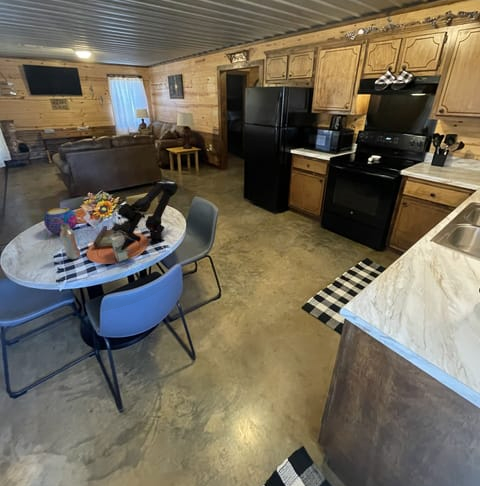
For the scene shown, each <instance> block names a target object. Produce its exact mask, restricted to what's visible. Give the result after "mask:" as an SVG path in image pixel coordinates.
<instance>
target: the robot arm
mask: <svg viewBox="0 0 480 486" xmlns="http://www.w3.org/2000/svg"><path fill="white" fill-rule="evenodd" d="M178 189H179V186H178V184H177V182H172V181H165V182H162V181H158V182H156V184H155V185H154V186H153V187H152V189H150V191H148V192H147V193H148V194H147V195H146V196H144V197H143V198H140V199H138V200H137V201H136V202H135V203H134V204H132V205H131V206H130V205H129V204H126V202H125V203H124V204H123V205H122V206H120V207H118V210H117V214H118V215H119V216H120V217H123V218H124V219H126V220H124V221H123V222H117V221H115V222H114V224H113V226H112V227H111V229H112V230H114V231H115V232H114V231H113V232H114V234H117V233H120V232H121V233H122V234H125V232H126V234H125V235H127V236H128V238H127V237H125V242H124V244H123V246H122V248H121V250H122V251H123V250H124V249H126V248H127V249H128V247H130V246H132V245H133V244H134V243H137V242H138V243H141V240H142V237H141V236H140V235H137V234H135V233H134V232H135V231H136V229H138V228H139V226H138V225H139V223H140V221H141V220H142V219H146V220H145V223H144V225H145V228H146V229H147V230H148V231H150V233H149V236H150V237H149V238H150V242H153V243H154V242H162V241H163V239H164V237H165V236H164V235H163V232H164V231H165V226H164V225H162V216H163V214H164V212H165V210H166V208H167V206H168V204H169V201H170V200H171V198H172V197H173V196H174V195H175V194H176V193H177V191H178ZM161 193H162V195H161V197H160V199H159V200H158V205H157V208H156V210H155V212H154V213H152V214H151V215H148V216H147V218H146V215H144V213H139V212H146V211H147V210H148V209H149V208H150V206H151V202H152V201H153V200H154V199H155V198H156V197H157V198H158V196H159V195H160V194H161ZM135 211H138V212H135Z"/></svg>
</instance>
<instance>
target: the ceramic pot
mask: <svg viewBox="0 0 480 486" xmlns="http://www.w3.org/2000/svg"><path fill="white" fill-rule="evenodd" d="M43 219H44V220H43V222H44V226H45V227H46V229H47V230H48V231H49V232H51V234H52V233H53V234H58V235H60V233H61V231H62V230H61V225H63V224H69V227H70V229H71V230H74V229H75V228H76V227H77V226H76V225H77V223H78V218H77V215H76V213H75V210H72V209H71V208H69V207H65V206H64V207H63V206H62V207H55V208H53V209H50V210H48V211H47V212H46V213H45V215H44V218H43Z"/></svg>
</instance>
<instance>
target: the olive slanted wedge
mask: <svg viewBox="0 0 480 486" xmlns="http://www.w3.org/2000/svg"><path fill="white" fill-rule="evenodd" d="M107 229H108V225H107V226H104V225H103V226H102V227H101V230H100V231H99V233H98V234H97V236H96V238H95V239H94V241H92V242H93V247H94V249H95V250H102V249H111V248H112V249H113V246H112V243H111V239H110V235H114V232H115V231H114V230H112V228H109V229H110V230H107ZM113 231H114V232H113ZM125 234H126V232H125ZM125 234H122V235H123V236H124V239H125V237H127V238H128V236H127V235H125Z"/></svg>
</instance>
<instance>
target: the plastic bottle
mask: <svg viewBox="0 0 480 486" xmlns="http://www.w3.org/2000/svg"><path fill="white" fill-rule="evenodd" d="M61 230H62V231H61V233H60V234H59V238H60V239H61V241H62V243H63V246H64V250H65V256H66V258H67V259H68V260H70V261H71V260H77V259H78V258H80V256H81V251H80V249H79V247H78V245H77V241H76V236H75V234H76V233H75V231H74V229H72V230H71V229H70V227H69V224H63V225H61Z"/></svg>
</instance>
